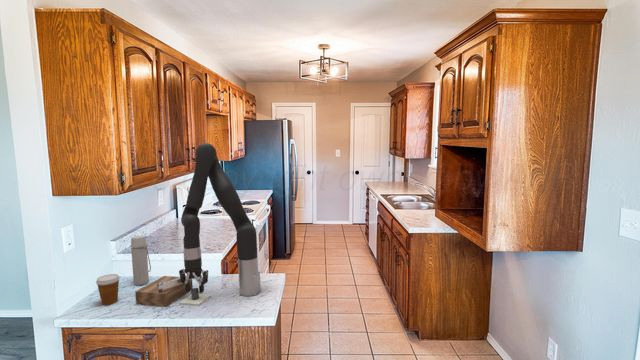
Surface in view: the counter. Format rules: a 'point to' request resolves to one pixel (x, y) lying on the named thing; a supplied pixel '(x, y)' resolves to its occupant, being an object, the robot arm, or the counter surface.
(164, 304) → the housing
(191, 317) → the counter surface
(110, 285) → the disposable coffee cup
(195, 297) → the lid
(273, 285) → the counter surface
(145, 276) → the water bottle
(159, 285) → the latch bar
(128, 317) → the counter surface
